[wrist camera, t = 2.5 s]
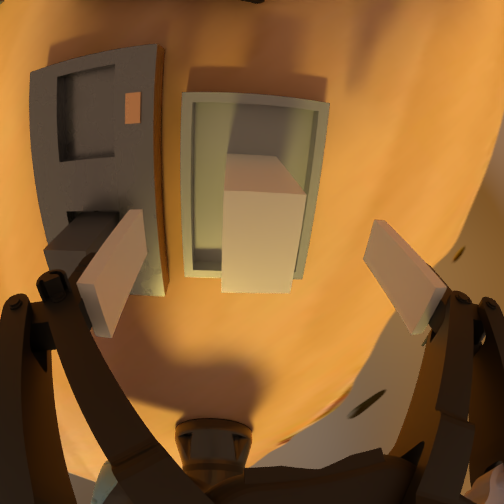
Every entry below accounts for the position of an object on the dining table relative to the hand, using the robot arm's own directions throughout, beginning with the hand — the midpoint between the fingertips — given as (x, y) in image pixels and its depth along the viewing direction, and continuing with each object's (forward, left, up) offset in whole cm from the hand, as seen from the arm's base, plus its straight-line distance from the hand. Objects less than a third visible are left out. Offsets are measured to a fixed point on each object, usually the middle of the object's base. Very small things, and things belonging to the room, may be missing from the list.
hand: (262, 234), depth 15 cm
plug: (0, 0, -9) cm, 9 cm away
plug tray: (0, 0, -10) cm, 10 cm away
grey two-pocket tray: (+1, +14, -10) cm, 17 cm away
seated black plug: (-5, +14, -9) cm, 17 cm away
